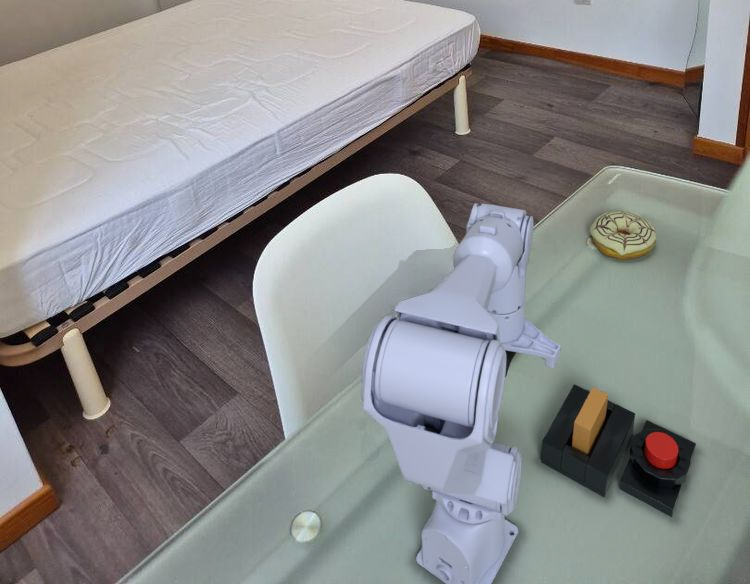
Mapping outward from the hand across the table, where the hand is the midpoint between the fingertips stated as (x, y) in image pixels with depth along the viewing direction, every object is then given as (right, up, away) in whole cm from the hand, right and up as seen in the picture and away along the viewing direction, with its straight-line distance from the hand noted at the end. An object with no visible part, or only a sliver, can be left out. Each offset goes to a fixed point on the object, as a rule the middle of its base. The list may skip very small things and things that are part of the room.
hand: (498, 377), depth 84 cm
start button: (+19, -8, -2) cm, 21 cm away
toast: (+11, -9, +2) cm, 15 cm away
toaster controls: (+19, -11, -1) cm, 22 cm away
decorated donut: (+28, +8, +36) cm, 47 cm away
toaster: (+11, -10, +2) cm, 15 cm away
